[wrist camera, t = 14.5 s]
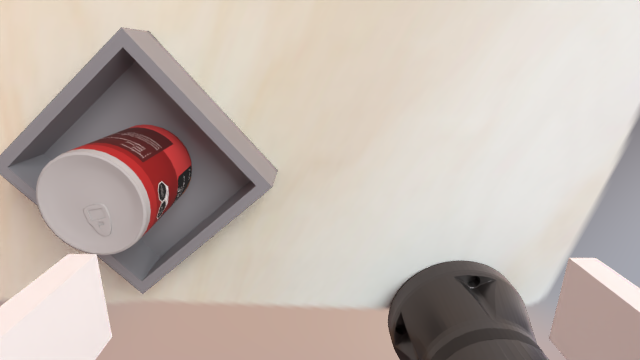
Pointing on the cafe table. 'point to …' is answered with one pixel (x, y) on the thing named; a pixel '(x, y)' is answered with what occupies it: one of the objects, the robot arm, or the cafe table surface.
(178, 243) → the box
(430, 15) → the cafe table surface
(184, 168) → the canned food
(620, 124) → the cafe table surface
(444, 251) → the cafe table surface
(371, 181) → the cafe table surface
